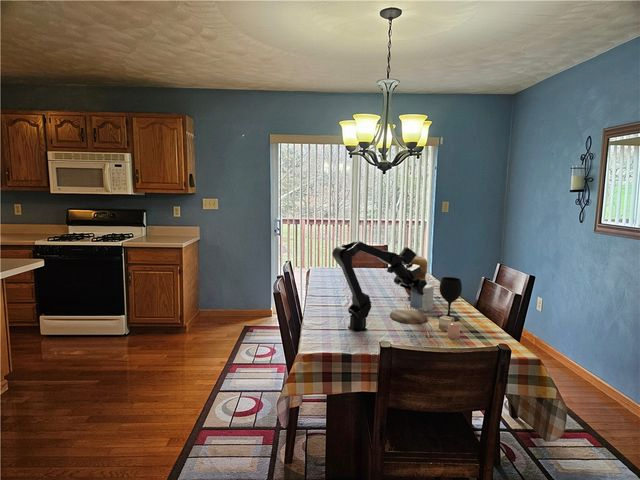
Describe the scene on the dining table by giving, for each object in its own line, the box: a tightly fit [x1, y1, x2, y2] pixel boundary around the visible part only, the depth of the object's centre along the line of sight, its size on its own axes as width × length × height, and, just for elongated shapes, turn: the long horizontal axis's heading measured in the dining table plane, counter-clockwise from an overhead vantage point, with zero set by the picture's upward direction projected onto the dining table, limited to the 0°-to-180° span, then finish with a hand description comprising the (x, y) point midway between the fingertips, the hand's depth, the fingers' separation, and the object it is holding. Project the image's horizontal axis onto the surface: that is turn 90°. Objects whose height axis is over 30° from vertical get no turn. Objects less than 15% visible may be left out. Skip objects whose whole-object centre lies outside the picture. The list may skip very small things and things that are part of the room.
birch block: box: [438, 316, 454, 331], centre depth 178 cm, size 5×5×5 cm
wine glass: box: [437, 276, 463, 323], centre depth 192 cm, size 10×10×20 cm
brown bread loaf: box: [389, 309, 428, 325], centre depth 192 cm, size 18×18×1 cm
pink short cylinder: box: [446, 321, 461, 340], centre depth 166 cm, size 5×5×6 cm
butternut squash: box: [404, 255, 428, 298], centre depth 227 cm, size 14×13×25 cm
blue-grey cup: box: [409, 286, 423, 309], centre depth 187 cm, size 6×6×10 cm
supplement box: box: [414, 284, 435, 312], centre depth 208 cm, size 7×7×13 cm
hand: (418, 293), depth 187 cm, fingers closed on blue-grey cup, 6 cm apart
